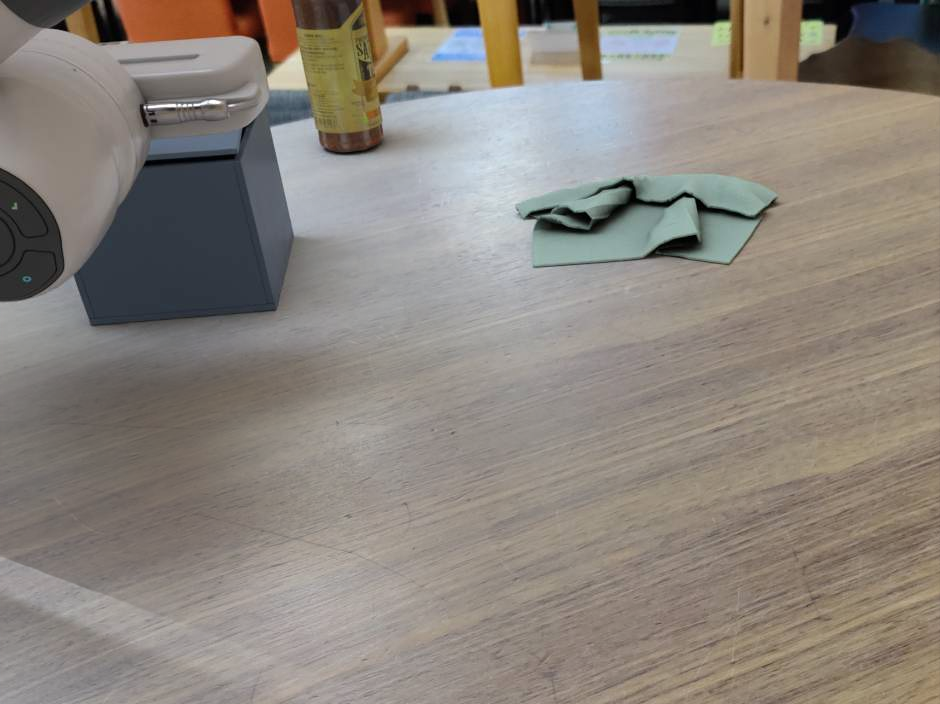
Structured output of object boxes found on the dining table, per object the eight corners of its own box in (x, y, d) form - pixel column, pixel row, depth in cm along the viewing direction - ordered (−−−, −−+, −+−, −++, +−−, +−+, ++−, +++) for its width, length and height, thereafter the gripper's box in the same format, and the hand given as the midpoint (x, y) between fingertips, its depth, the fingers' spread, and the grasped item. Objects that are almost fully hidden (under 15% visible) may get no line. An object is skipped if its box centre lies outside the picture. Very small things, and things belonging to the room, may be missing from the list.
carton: (276, 310, 86) (237, 148, 79) (90, 325, 85) (33, 163, 78) (294, 235, 97) (261, 87, 90) (129, 248, 96) (82, 99, 89)
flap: (238, 154, 79) (236, 148, 79) (37, 168, 78) (34, 163, 78) (246, 104, 84) (245, 99, 83) (55, 118, 83) (53, 112, 82)
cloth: (806, 194, 100) (808, 164, 99) (691, 298, 86) (691, 265, 84) (593, 162, 108) (591, 134, 106) (455, 252, 93) (450, 221, 92)
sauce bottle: (389, 150, 112) (349, -97, 99) (321, 158, 111) (272, -90, 98) (382, 129, 117) (343, -109, 104) (317, 137, 116) (269, -103, 103)
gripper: (240, 47, 63) (268, -12, 74) (-164, 76, 62) (-77, 12, 72) (268, 168, 67) (291, 96, 78) (-110, 199, 66) (-35, 121, 76)
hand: (111, 56), depth 75 cm, fingers closed
